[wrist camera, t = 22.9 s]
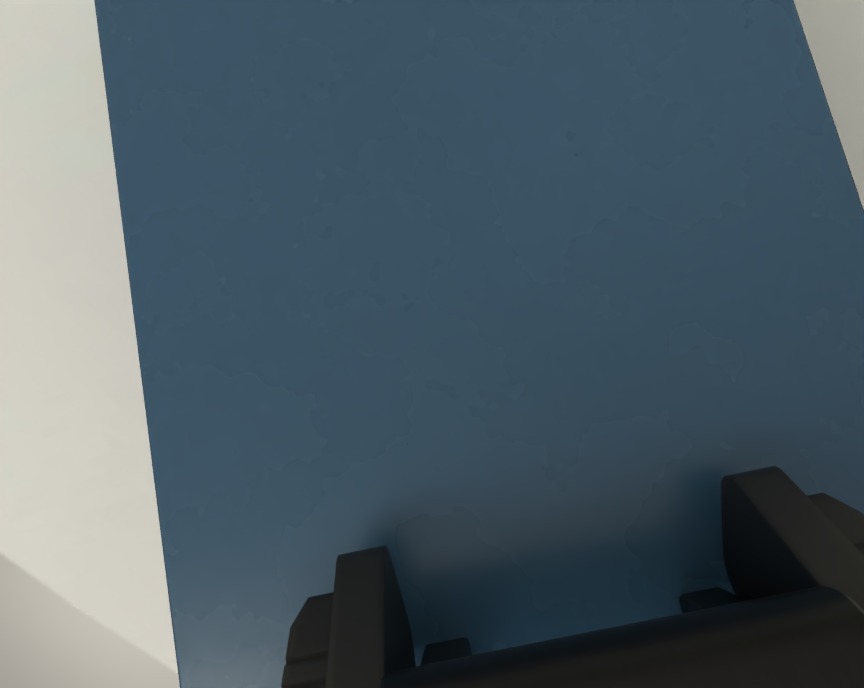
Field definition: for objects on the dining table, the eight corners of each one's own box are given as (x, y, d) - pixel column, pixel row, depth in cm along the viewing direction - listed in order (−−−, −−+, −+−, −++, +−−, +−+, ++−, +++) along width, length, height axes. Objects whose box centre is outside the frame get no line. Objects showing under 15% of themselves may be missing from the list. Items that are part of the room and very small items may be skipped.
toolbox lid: (994, 699, 11) (1452, 904, 6) (221, 849, 11) (10, 1173, 6) (699, -206, 14) (829, -588, 9) (101, -73, 14) (-103, -370, 9)
